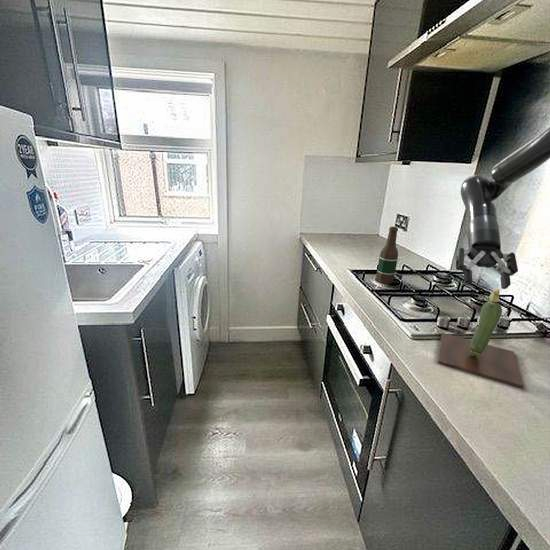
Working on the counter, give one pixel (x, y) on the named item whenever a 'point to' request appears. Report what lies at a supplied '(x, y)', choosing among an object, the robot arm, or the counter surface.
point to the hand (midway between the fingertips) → (487, 286)
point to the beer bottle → (388, 259)
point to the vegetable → (486, 323)
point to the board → (480, 360)
